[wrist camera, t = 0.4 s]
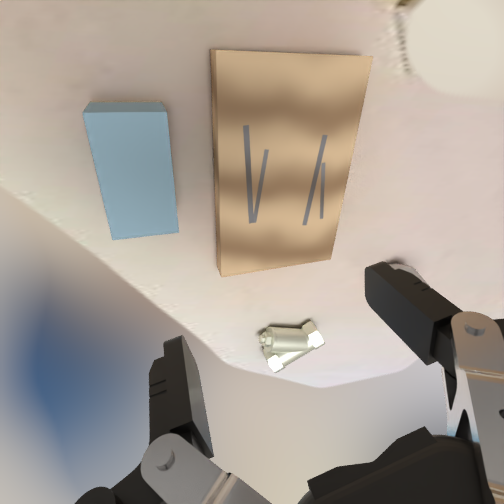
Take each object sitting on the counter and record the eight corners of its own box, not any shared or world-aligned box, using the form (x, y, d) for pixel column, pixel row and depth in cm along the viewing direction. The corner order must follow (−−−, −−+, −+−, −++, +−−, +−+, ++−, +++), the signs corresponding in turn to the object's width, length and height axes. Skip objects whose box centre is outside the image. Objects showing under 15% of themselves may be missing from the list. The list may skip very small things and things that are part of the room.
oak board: (210, 49, 23) (216, 49, 22) (358, 55, 27) (373, 56, 25) (217, 266, 34) (221, 277, 33) (322, 250, 38) (330, 259, 36)
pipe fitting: (249, 330, 42) (269, 357, 46) (258, 352, 39) (278, 378, 43) (300, 300, 42) (315, 329, 46) (312, 319, 39) (328, 349, 43)
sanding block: (90, 101, 23) (82, 112, 19) (161, 101, 24) (166, 111, 20) (115, 212, 28) (112, 240, 24) (172, 207, 29) (178, 232, 25)
